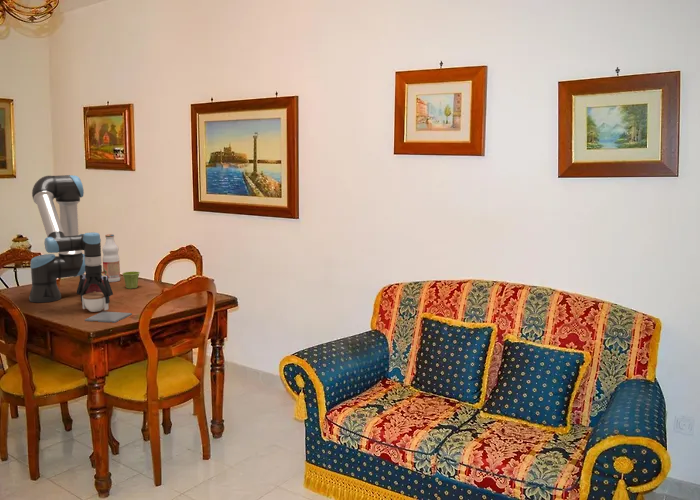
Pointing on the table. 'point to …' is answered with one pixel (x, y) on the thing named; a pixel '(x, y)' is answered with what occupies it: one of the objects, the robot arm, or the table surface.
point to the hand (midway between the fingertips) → (95, 309)
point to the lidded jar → (94, 301)
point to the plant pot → (131, 279)
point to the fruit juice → (111, 259)
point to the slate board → (108, 317)
